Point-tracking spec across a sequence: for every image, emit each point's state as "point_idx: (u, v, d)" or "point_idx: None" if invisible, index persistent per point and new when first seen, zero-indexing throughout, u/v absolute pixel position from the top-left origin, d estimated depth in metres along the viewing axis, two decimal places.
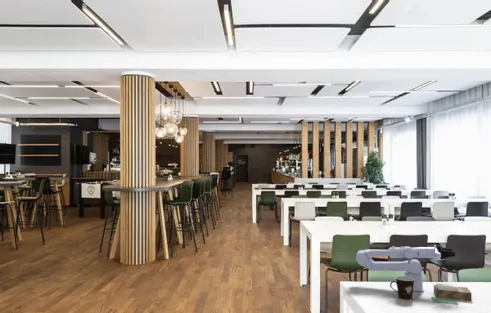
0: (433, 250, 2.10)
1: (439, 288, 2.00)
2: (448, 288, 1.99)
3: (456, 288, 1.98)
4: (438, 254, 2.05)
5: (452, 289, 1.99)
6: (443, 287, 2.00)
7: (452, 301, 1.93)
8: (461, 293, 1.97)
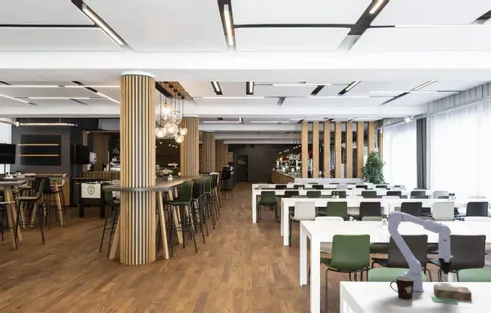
0: (448, 255, 2.07)
1: (439, 288, 2.00)
2: (448, 288, 1.99)
3: (456, 288, 1.98)
4: (447, 260, 2.03)
5: (452, 289, 1.99)
6: (443, 287, 2.00)
7: (452, 301, 1.93)
8: (461, 293, 1.97)
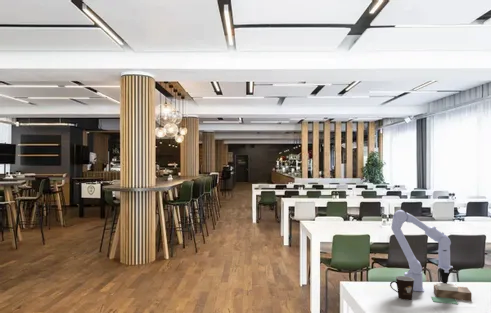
0: (448, 265, 2.07)
1: (439, 288, 2.00)
2: (448, 288, 1.99)
3: (456, 288, 1.98)
4: (447, 270, 2.03)
5: (452, 289, 1.99)
6: (443, 287, 2.00)
7: (452, 301, 1.93)
8: (461, 293, 1.97)
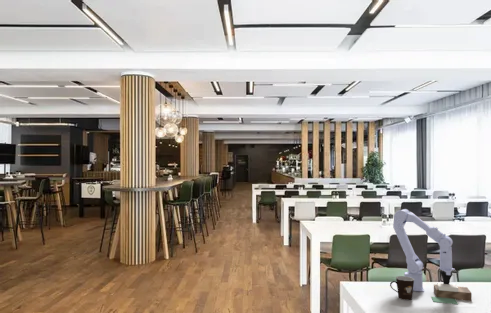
0: (450, 267, 2.02)
1: (439, 289, 1.99)
2: (448, 289, 1.98)
3: (456, 289, 1.97)
4: (449, 273, 1.98)
5: (452, 290, 1.97)
6: (443, 288, 1.99)
7: (452, 301, 1.93)
8: (461, 293, 1.97)
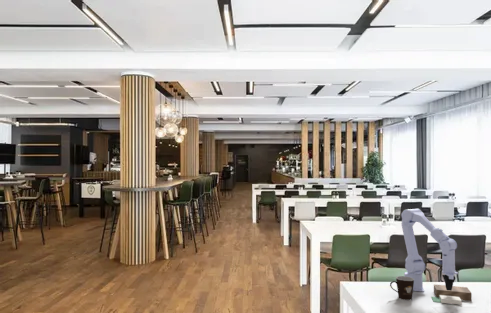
0: (452, 271, 1.95)
1: None
2: None
3: None
4: (452, 277, 1.90)
5: None
6: None
7: None
8: (461, 293, 1.97)
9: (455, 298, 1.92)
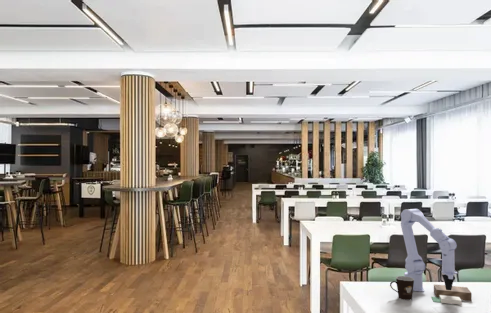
0: (452, 271, 1.95)
1: None
2: None
3: None
4: (451, 276, 1.91)
5: None
6: None
7: None
8: (461, 293, 1.97)
9: (455, 298, 1.92)
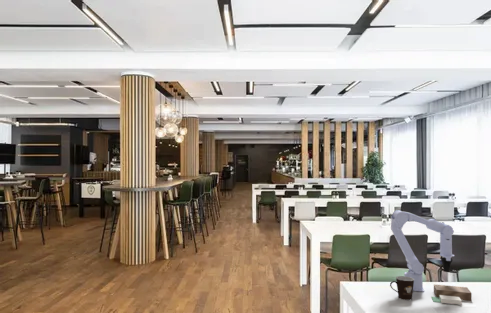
0: (450, 253, 2.10)
1: None
2: None
3: None
4: (449, 258, 2.06)
5: None
6: None
7: None
8: (461, 293, 1.97)
9: (455, 298, 1.92)
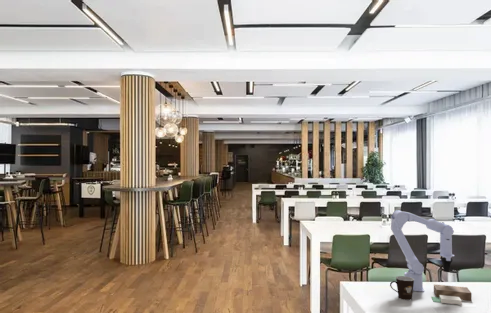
0: (450, 253, 2.10)
1: None
2: None
3: None
4: (449, 258, 2.06)
5: None
6: None
7: None
8: (461, 293, 1.97)
9: (455, 298, 1.92)
